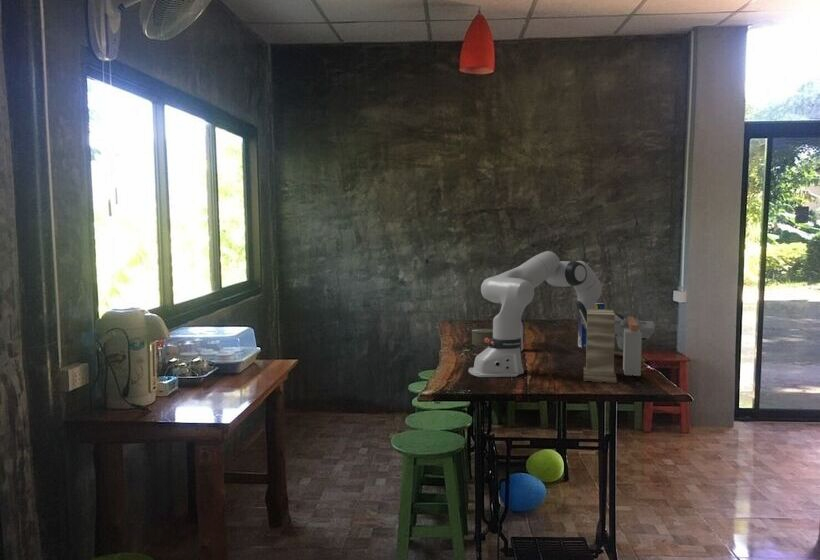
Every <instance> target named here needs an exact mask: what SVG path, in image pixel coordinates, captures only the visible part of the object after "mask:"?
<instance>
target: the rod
mask: <svg viewBox="0 0 820 560" xmlns="http://www.w3.org/2000/svg"><path fill="white" fill-rule="evenodd" d="M626 318H627V319H628V325H629V328H630V330H631V331H634V332H638V324H637V322H636V321H635V319H636V318H635V317H634V316H626Z"/></svg>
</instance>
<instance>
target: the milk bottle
mask: <svg viewBox="0 0 820 560" xmlns="http://www.w3.org/2000/svg"><path fill="white" fill-rule="evenodd" d="M520 338H521V351H520V352H522V351H524V325H523V322H522V321H521V323H520Z"/></svg>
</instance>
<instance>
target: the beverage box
mask: <svg viewBox="0 0 820 560" xmlns="http://www.w3.org/2000/svg"><path fill="white" fill-rule="evenodd" d="M593 309H604V310H605V302H600V301H599V302H598V301H597V302H596V303H595V305H594V307H593ZM577 312H578V311H577ZM577 314H578V315H577V316H578V319H577V321H578V324H577V327H578V329H577V347H578V348H580V347H581V348H580V349H586V344H587V332H586V329H585V327H584V324H583V322H582V320H581V317H580V315H579V312H578V313H577Z"/></svg>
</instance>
